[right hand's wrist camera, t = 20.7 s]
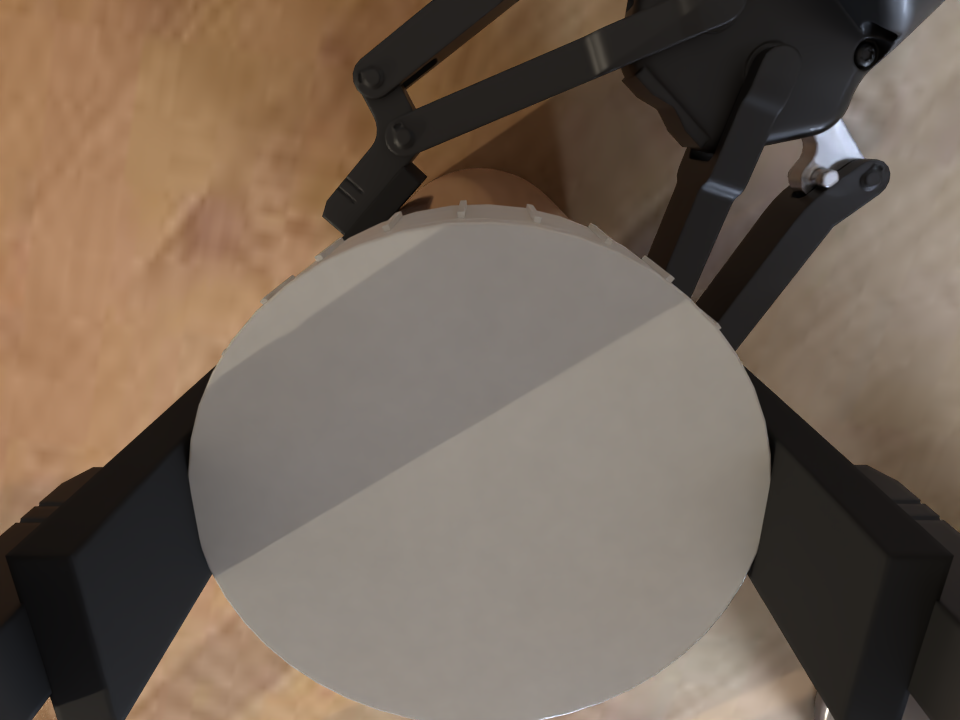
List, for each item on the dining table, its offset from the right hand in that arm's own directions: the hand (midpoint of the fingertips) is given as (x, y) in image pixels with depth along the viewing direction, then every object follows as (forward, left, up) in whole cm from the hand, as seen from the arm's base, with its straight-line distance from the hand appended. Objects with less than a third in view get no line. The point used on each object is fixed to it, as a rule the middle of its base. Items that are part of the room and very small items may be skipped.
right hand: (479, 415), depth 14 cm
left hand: (-2, +4, -10) cm, 11 cm away
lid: (0, 0, +3) cm, 3 cm away
